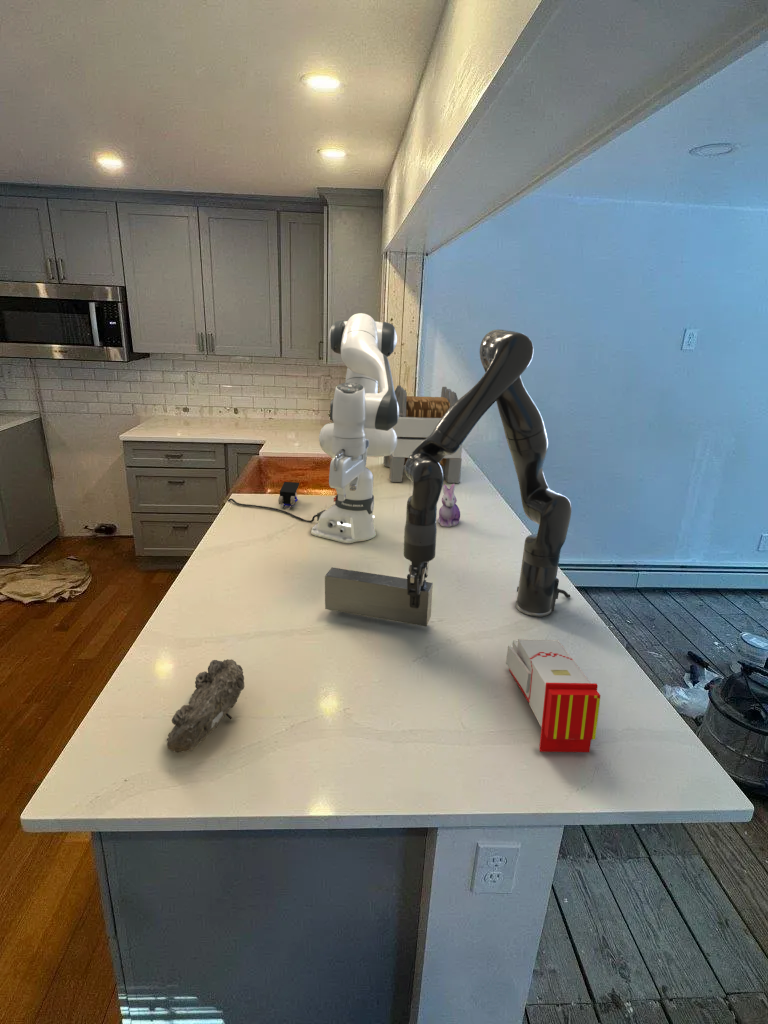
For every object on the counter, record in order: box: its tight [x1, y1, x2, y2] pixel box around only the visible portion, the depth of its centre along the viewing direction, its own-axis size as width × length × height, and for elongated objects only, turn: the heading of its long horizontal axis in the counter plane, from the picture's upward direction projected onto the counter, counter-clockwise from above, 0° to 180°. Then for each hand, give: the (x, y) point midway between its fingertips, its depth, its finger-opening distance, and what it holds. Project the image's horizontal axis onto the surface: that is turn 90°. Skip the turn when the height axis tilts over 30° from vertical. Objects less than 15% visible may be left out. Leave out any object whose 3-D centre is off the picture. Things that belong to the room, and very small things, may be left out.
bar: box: [324, 567, 434, 628], centre depth 142 cm, size 26×5×10 cm, turn 74°
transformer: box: [383, 384, 463, 484], centre depth 268 cm, size 34×33×41 cm
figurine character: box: [278, 481, 300, 510], centre depth 223 cm, size 7×8×15 cm
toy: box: [505, 638, 602, 753], centre depth 114 cm, size 12×13×30 cm
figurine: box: [437, 483, 461, 528], centre depth 209 cm, size 9×10×15 cm
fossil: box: [166, 658, 245, 754], centre depth 106 cm, size 22×10×15 cm
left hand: (347, 495), depth 156 cm, fingers open, 8 cm apart
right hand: (416, 601), depth 139 cm, fingers closed on bar, 5 cm apart
